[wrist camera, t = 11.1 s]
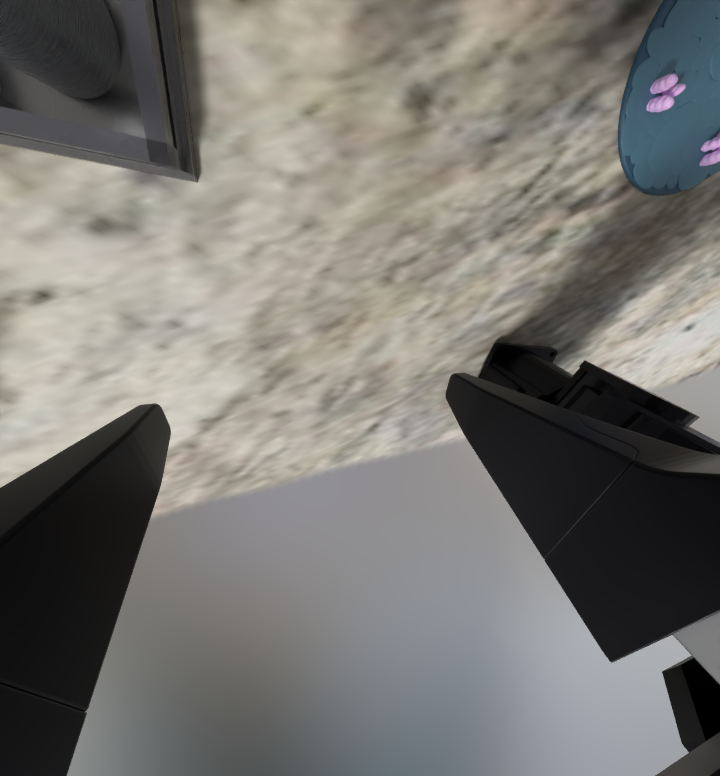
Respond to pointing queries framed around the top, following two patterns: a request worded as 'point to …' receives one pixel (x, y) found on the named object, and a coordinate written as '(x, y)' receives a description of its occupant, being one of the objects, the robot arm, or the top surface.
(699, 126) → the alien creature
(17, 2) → the tube
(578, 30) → the top surface
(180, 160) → the collar block
